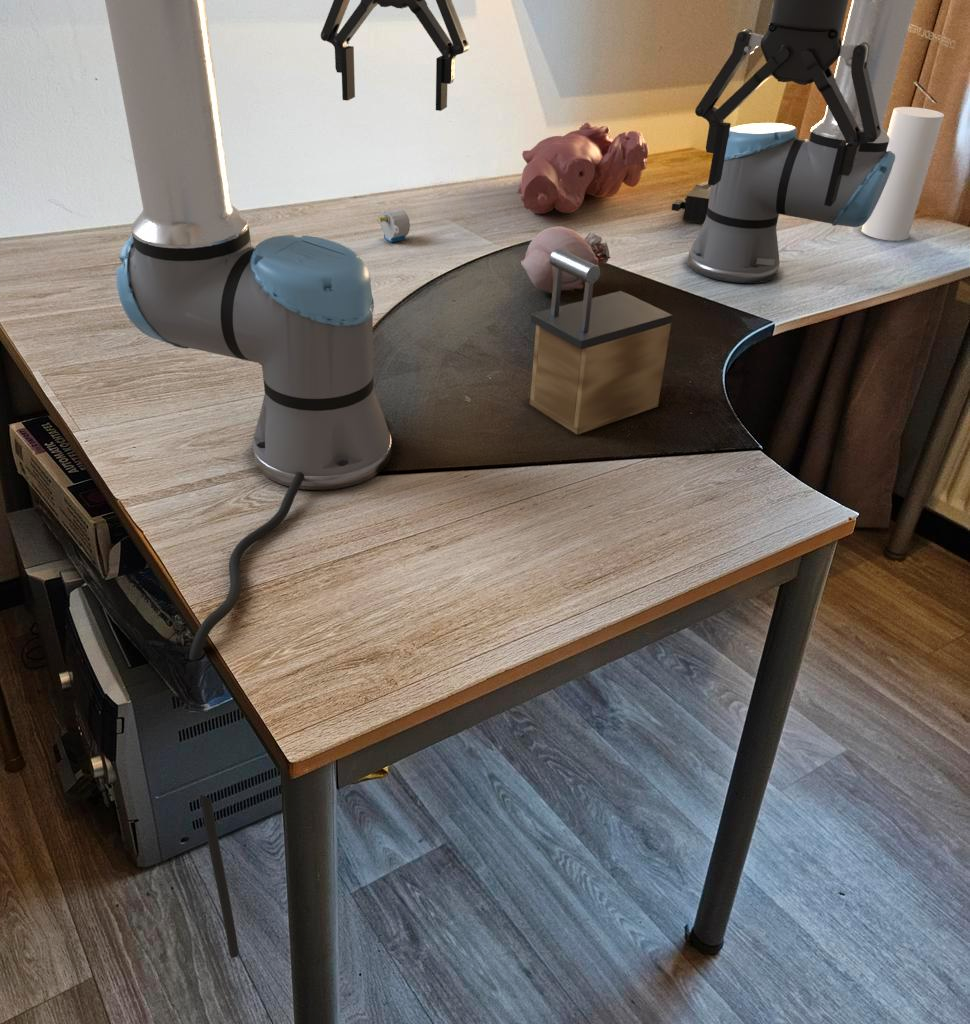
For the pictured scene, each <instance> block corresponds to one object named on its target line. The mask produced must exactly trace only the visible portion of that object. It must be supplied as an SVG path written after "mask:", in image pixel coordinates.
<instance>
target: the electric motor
mask: <svg viewBox="0 0 970 1024" xmlns="http://www.w3.org/2000/svg"><path fill="white" fill-rule="evenodd" d="M376 222H377V224H378V225H380V227H381V231H382V233H383V238H384V240H385V241H388V242H389V243H394V242H395V243H396V242H399V241H404V240H405V238H406V236H407V235H409V233H410V229H411V222H410V218H409V216H408V213H407V212H406V210H404V209H403V208H397V209H392V210H387V211H384V212H383V213H382V214H381V216H378V217H377V218H376Z"/></svg>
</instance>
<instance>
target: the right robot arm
mask: <svg viewBox="0 0 970 1024" xmlns="http://www.w3.org/2000/svg"><path fill="white" fill-rule="evenodd" d="M916 3H917V0H852V1H851V6H850V10H849V13H848V18H847V21H846V27H845V30H844V35H843V39H842V31H843V27H844V22H845V18H846V13H847V8H848V6H849V0H773V2H772V6H771V12H770V17H769V22H768V27H767V30H766V32H765V34H760V33H756V32H754V31H753V30H752V29H751V28H746V29H744V30H741V31H739V32H738V33H737V35H736V36H735V41H734V44H733V47H732V52H731V53H730V55H729V57H728V58H727V60H726V61H725V63H724V65H723V66H722V67H721V68H720V70H719V72H718V74H717V75H716V77H715V78H714V80H713V81H712V83H711V84H710V86H709V88H708V89H707V91H706V92H705V94H704V95H703V97H702V98H701V100H700V101H699V103H698V104H697V106H696V107H695V110H694V113H695V115H696V117H700V118H702V119H705V120H706V121H707V122H708V131H707V138H706V144H705V151H706V153H708V154H712V157H711V163H710V170H709V176H708V180H707V182H708V185H711V191H710V197H709V203H708V210H707V215H706V219H705V221H704V223H703V224H701V225H702V226H701V228H700V229H699V231H698V233H697V235H696V237H695V239H694V241H693V242H692V245H691V246H690V249H689V251H688V257H687V265H688V267H689V268H690V269H691V270H692V271H694V272H695V273H697V274H700V275H702V276H704V277H706V278H710V279H713V280H718V281H721V282H727V283H734V284H735V283H737V284H757V283H765V282H768V281H771V280H772V279H774V278H776V277H777V276H778V273H779V269H780V264H781V262H780V253H779V241H778V233H777V225H778V221H779V215H781V216H788V217H793V218H799V219H804V220H805V219H806V220H809V221H813V222H820V223H825V224H829V225H831V226H834V227H835V226H842V227H851V228H858V227H861V226H863V224H865V223H866V222H867V221H868V219H869V218H870V216H871V214H872V212H873V210H874V209H875V207H876V205H877V202H878V200H879V198H880V196H881V194H882V192H883V189H884V187H885V185H886V182H887V180H888V178H889V175H890V172H891V170H892V166H893V163H894V161H895V154H894V153H892V152H891V151H887V147H888V143H889V139H890V138H889V136H888V135H887V133H888V132H887V131H886V130H885V128H884V121H885V118H886V114H887V111H888V106H889V103H890V99H891V97H892V96H891V95H892V92H893V88H894V85H895V81H896V77H897V73H898V70H899V65H900V62H901V59H902V55H903V51H904V49H905V43H906V40H907V36H908V32H909V31H908V30H910V27H911V22H912V19H913V14H914V10H915V8H916V7H915V6H916ZM909 26H910V27H909ZM758 47H760V51H761V52H762V54H763V58H764V59H765V61H766V63H764V64H763V65H762V66H761V67H760V68H759V69H758V70H757V71H756V72H755V73H754V74H753V75H752V76H751V77H750V78H748V80H747V81H745V83H743V85H741V86H740V87H739V88H738V89H737V90H736V91H735V92H734V93H733V94H732V95H731V96H730V97H729V98H728V99H727V100H726V101H725V102H723V103H722V105H720V106H719V107H718V108H717V107H715V106H716V103H717V102H718V101H719V99H720V98H721V96H722V95H723V93H724V91H725V90H726V89H727V87H728V85H729V84H730V82H731V81H732V79H733V78H734V77H735V75H736V74H737V72H738V71H739V69H740V67H741V66H742V65H743V63H744V62H745V60H746V59H747V56H748V55H751V54H753V53H754V52H755V51H756V49H757V48H758ZM836 61H837V65H836V67H835V72H834V74H833V71H832V69H831V68H830V67H832V65H833V64H834V63H835V62H836ZM771 77H773V78H774V79H775V80H777V82H779V83H790V82H793V83H795V84H797V85H801V86H807V85H810V84H813V83H814V85H815V87H816V89H817V91H818V92H820V94H821V96H822V98H823V99H824V102H825V103H826V105H827V106H826V109H825V114H824V117H823V118H822V120H820V121H819V122H818V123H816V124H815V125H814V126H812V127H811V129H810V133H809V138H808V139H805V138H799V137H798V134H799V133H798V128H797V127H796V126H794V125H792V124H786V123H778V122H760V123H758V122H757V123H756V122H755V123H747V124H741V125H735V126H733V127H731V124H732V123H731V122H726V121H725V120H726V119H727V118H728V117H729V116H730V115H731V114H732V113H733V112H734V111H735V110H737V108H738V107H740V105H742V104H743V103H744V102H745V101H746V100H747V99H748V98H749V97H751V96H752V95H753V93H755V92H756V91H757V90H758V89H759V88H760V87H761V86H762V85H763V84H764V83H765V82H766V81H768V80H769V79H770V78H771Z"/></svg>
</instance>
